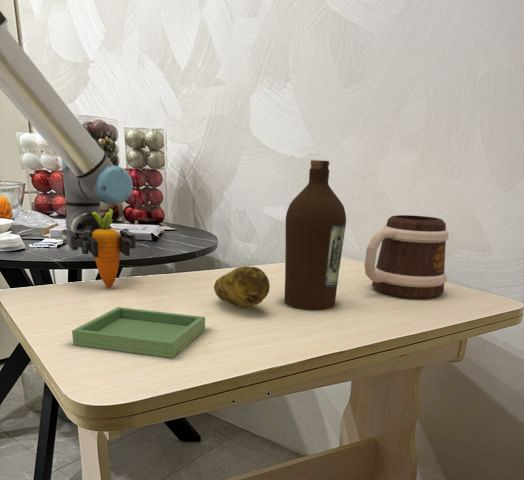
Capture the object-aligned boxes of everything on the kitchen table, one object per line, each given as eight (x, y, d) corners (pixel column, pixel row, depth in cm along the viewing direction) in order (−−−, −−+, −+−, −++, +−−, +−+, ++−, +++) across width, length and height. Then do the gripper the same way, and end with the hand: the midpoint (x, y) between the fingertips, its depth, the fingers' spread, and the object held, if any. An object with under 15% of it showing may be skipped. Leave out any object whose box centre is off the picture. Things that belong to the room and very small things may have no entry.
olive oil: (272, 305, 94) (279, 158, 85) (292, 293, 103) (300, 159, 95) (329, 314, 90) (343, 161, 82) (344, 300, 100) (357, 162, 91)
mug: (405, 280, 119) (414, 212, 114) (459, 295, 107) (473, 221, 102) (337, 288, 109) (344, 214, 104) (389, 306, 97) (400, 224, 92)
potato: (255, 298, 99) (257, 256, 96) (273, 318, 87) (275, 270, 84) (212, 299, 97) (212, 256, 94) (224, 319, 85) (224, 271, 82)
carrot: (95, 291, 99) (89, 210, 93) (96, 285, 103) (91, 207, 98) (122, 290, 100) (117, 210, 95) (122, 284, 104) (118, 207, 99)
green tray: (73, 344, 71) (71, 330, 71) (118, 319, 83) (117, 306, 82) (172, 358, 68) (171, 343, 67) (205, 329, 80) (205, 316, 79)
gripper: (133, 247, 119) (160, 267, 99) (49, 249, 111) (61, 272, 92) (131, 213, 116) (159, 226, 97) (45, 213, 109) (57, 228, 89)
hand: (111, 248), depth 94 cm, fingers closed on carrot, 5 cm apart
